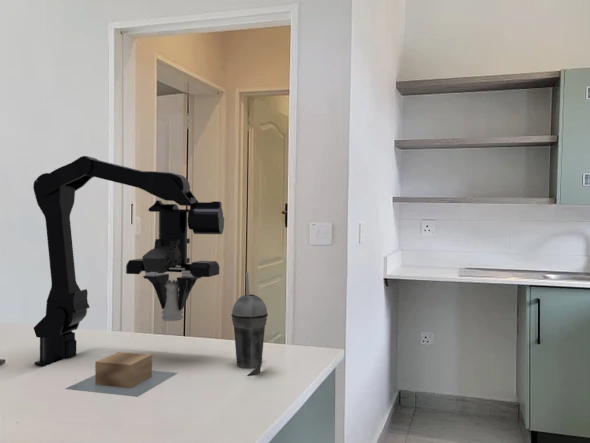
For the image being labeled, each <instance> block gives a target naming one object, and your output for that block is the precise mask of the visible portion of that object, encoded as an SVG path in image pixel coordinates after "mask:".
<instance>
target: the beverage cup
mask: <svg viewBox="0 0 590 443" xmlns="http://www.w3.org/2000/svg"><path fill="white" fill-rule="evenodd" d="M245 285H246V286H245V287H246V288H245V289H246V294H244V295H242V296H240V297H239V298H238V299H237V300H236V301H235V302H234V304H233V306H232V312H231V317H232V318H231V321H232V325H233V332H234V344H235V358H236V360H235V361H236V366H237V367H238V368H241V369H245V370H246V369H254V370H252V371H250V372H249V373H248V374H247V375H246V377H251V376H258V375H260V374H261V370H262V362H263V361H262V360H263V351H264V339H265V330H266V329H265V328H266V325H267V320H268V319H267V318H268V310H267V305H266V303H265V302H264V300H263V299H262V298H261V297H260V296H258V295H256V294H250V284H249V272H245Z"/></svg>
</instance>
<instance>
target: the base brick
mask: <svg viewBox="0 0 590 443" xmlns="http://www.w3.org/2000/svg"><path fill="white" fill-rule="evenodd" d="M152 363H153V355H152V354H147V353H145V354H144V353H133V352H121V351H119V352H118V351H117V352H116V353H113V354H111V355H108V356H105V357H104V358H101V359H98V360H97V361H95V364H94V365H95V367H94V368H95V369H94V370H95V374H94V375H95V384H96V385H106V386H115V387H125V388H132V387H134V386H135V385H137V384H139V383H141V382H143V381H145V380H146V379H148V378H150V377H152V369H153V368H152V367H153V364H152Z"/></svg>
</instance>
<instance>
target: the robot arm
mask: <svg viewBox="0 0 590 443" xmlns="http://www.w3.org/2000/svg"><path fill="white" fill-rule="evenodd" d="M93 178H98V179H101V180H105V181H110V182H114V183H117V184H122V185H125V186H126V185H127V186H130V187H134V188H138V189H140V190H142V191H145V192H146V193H149V194H150V195H153V196H155V197H157V198H160V199H161V200H156V201H155V202H154V203H153V205H151V206H150V207H149V208H148V210H147V211H148V212H154V213H156V212H157V213H158V238H156V239H155V240H154V247H153V248H151V249H150V250H148V251H147V252H146V253H145V254H143V256H142V258H135V259H129V260H128V262H127V263H126V266H125V274H127V275H140V274H141V273H142V272H145V274H144V275H143V279H145V280H148V282H150V283H151V284H152V287H153V288H154V291H155V293H156V296H157V298H158V300H159V304H160V306H161V310H164V307H165V305H166V298H167V294H166V292H167V288H166V287H165V284H166V281H168V280H170V278H169V277H170V274H169V273H181V276H178V277H176V280H177V281H178V283H179V289H178V291H179V299H178V305H179V310H183V309H184V307H185V305H186V303H187V301H188V298H189V296H190V294H191V291H192V289H193V288H194V286H195V283H196V282H197V280H198V279H202V278H210V277H214V276H218V275H220V265H219V263H218V262H217V260H198V261H192V262H191V263H190V259H191V258H190V257H188V244H190V238H188V229H189V230H192V232H193V234H194V235H223V232H224V227H225V217H224V211H223V207H222V206H223V205H222V201H215V200H214V201H209V202H208V201H207V202H205V201H203V202H202V201H201V202H199V201H198V200H197V199H198V198H196V197H195V195H194V194H193V193H192V191H191V190H190V189H191V186H190V182H189V180H188V178H186V177H185V176H184V175H181V174H178V173H175V172H169V171H168V172H167V171H149V170H148V171H147V170H140V169H135V168H131V167H127V166H124V165H119V164H114V163H111V162H108V161H103V160H99V159H97V158H95V157H91V156H88V155H87V156H86V155H82V156H80V157H78V158H77V159H75V160H73V161H72V162H70V163H67V164H65V165H63V166H61V167H58V168H55V169H54V170H53V171H51V172H45V173H41V175H39V176H37V178H36V179H35V180H34V182H33V188H32V189H33V193H34V196H35V201H36V203H37V205H38V207H39V209H40V211H41V213H42V214H43V216H44V219H45V226H46V228H45V229H46V238H47V249H48V260H49V270H50V280H51V287H50V290H49V293H48V297H47V299H46V307H45V308H46V309H45V316H43V318H42V319H41V320H40V321H39V322H37V324H35V326H34V327H33V331H34V334H35V336H36V338H39V360H37V361H34V365H35V366H44V367H45V366H49V365H52V364H54V363H57V362H60V361H63V360H66V359H67V360H69V359H72V358H75V357H76V356H77V340H76V333H75V332H74V331H76V330H78V329H79V325H80V323H81V322H82V321H83V319H84V318H85V317H86V316H87V312H88V309H90V305H89V302H88V289H87V288H86V289H82V290H81V288H80V287H79V285H78V282H77V278H76V269H75V268H76V267H75V258H74V248H73V238H72V237H73V236H72V227H71V226H72V225H71V213H72V210H73V208H74V204H75V196H76V195H75V194H76V191H78V190H79V189H81V188H83V187H84V186H85V185H86V184H87V183H88V182H90V180H91V179H93ZM162 200H164V201H169V202H175V203H163V202H162ZM178 205H179V206H181V207H182V206H183V207H189V208H188V209H180V208H179V206H178ZM168 272H169V273H168Z"/></svg>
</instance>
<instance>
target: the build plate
mask: <svg viewBox="0 0 590 443" xmlns="http://www.w3.org/2000/svg"><path fill="white" fill-rule="evenodd" d="M177 374H178V372H174V371H173V372H171V371H162V370H152V377H150V378H148V379H146V380H145V381H143V382H141V383H139V384H137V385H135V386H134V387H132V388H125V387H115V386H106V385H96V384H95V374H94V375H91V376H90V377H88V378H85V379H84V380H81V381H78V382H77V383H75V384H72V385H70V386H67V387H66V388H64V389H65V390H70V391H71V390H72V391H80V392H90V393H99V394H108V395H118V396H128V397H136V398H138V397H140V396H142V395H143V394H145V393H146V392H148V391H150V390H152V389H154V388H155V387H156V386H158V385H160V384H162V383H163V382H166V381H167V380H168V379H170V378H172V377H174V376H176V375H177Z"/></svg>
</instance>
